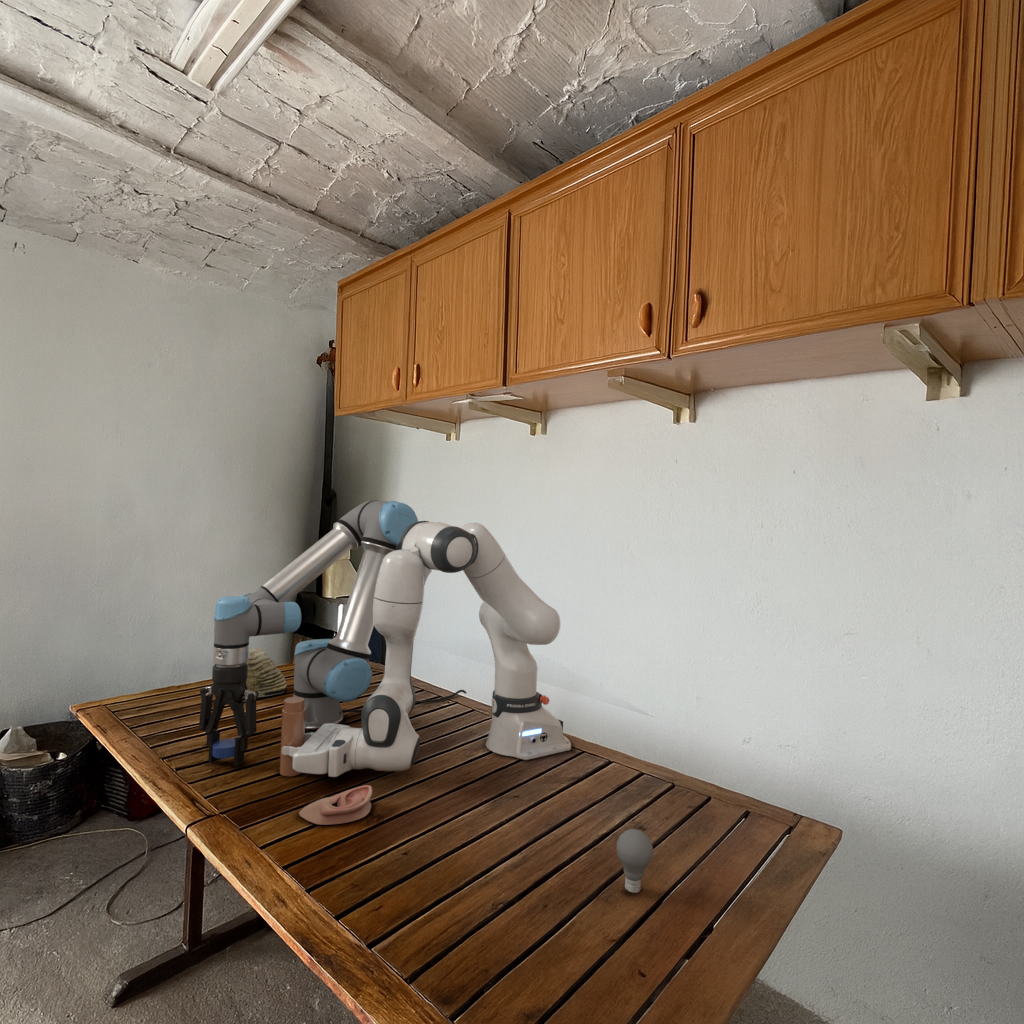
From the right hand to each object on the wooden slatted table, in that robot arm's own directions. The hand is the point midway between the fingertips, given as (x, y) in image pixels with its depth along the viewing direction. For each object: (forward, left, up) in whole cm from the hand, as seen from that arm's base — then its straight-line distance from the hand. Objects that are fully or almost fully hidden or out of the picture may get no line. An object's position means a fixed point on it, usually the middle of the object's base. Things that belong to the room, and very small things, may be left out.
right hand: (288, 743), depth 145 cm
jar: (-1, 0, -6) cm, 6 cm away
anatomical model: (-8, +22, -6) cm, 25 cm away
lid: (+13, -8, -2) cm, 15 cm away
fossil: (+7, -60, -6) cm, 61 cm away
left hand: (+13, -8, -6) cm, 16 cm away
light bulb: (-51, +64, -6) cm, 82 cm away
